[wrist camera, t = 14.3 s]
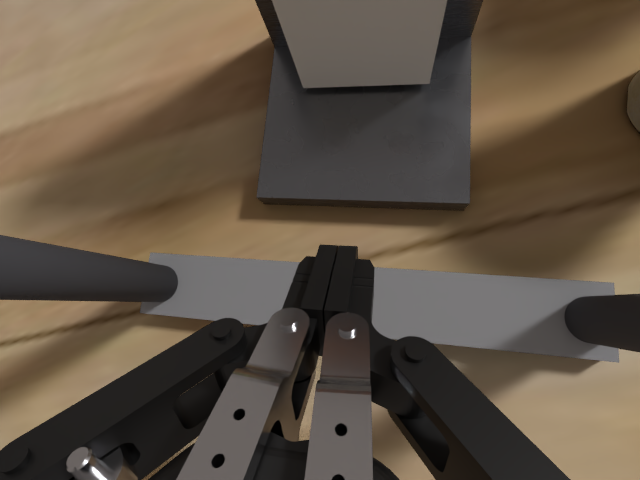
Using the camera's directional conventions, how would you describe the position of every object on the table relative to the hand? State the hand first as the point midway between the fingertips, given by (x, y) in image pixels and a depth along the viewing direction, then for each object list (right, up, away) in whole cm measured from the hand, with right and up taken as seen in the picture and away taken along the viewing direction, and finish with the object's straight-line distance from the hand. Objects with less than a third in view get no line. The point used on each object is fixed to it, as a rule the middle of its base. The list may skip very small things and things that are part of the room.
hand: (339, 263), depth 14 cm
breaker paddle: (+2, +12, +8) cm, 15 cm away
